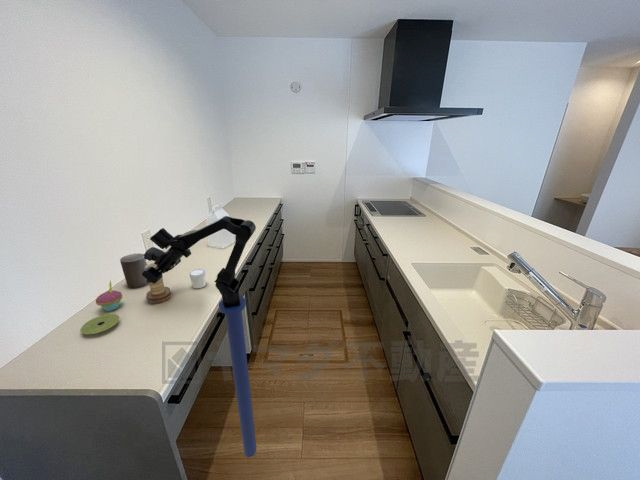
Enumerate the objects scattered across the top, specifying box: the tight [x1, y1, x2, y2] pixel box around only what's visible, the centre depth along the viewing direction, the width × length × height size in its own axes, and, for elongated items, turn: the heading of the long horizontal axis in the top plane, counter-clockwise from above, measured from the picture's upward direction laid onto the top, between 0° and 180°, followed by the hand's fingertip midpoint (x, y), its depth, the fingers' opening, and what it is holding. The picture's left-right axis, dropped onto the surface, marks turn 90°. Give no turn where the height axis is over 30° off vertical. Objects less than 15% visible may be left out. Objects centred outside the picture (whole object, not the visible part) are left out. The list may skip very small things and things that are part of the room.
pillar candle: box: [119, 252, 149, 289], centre depth 124 cm, size 10×10×15 cm
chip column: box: [145, 262, 166, 295], centre depth 112 cm, size 5×5×13 cm
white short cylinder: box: [188, 268, 207, 289], centre depth 124 cm, size 7×7×7 cm
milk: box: [205, 204, 236, 250], centre depth 169 cm, size 12×12×26 cm
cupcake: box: [95, 280, 123, 312], centre depth 106 cm, size 9×8×12 cm
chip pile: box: [145, 286, 173, 305], centre depth 114 cm, size 10×10×3 cm
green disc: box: [80, 313, 120, 335], centre depth 97 cm, size 11×11×2 cm
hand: (151, 278), depth 111 cm, fingers open, 6 cm apart
